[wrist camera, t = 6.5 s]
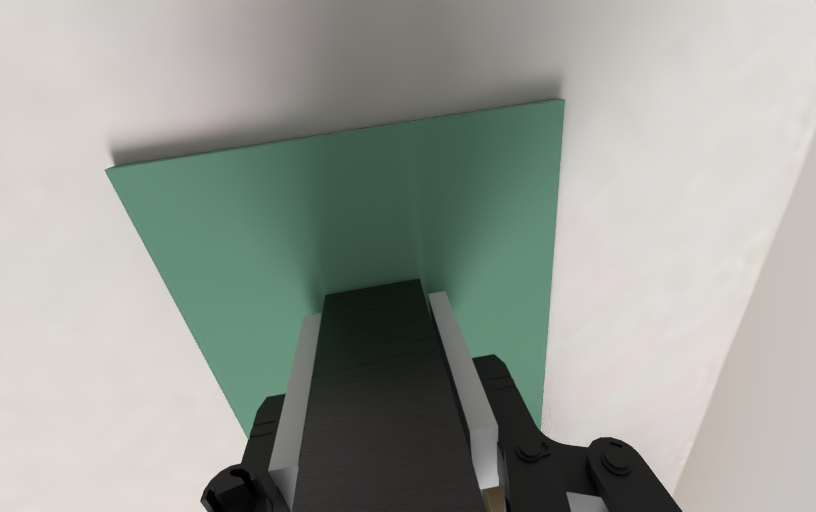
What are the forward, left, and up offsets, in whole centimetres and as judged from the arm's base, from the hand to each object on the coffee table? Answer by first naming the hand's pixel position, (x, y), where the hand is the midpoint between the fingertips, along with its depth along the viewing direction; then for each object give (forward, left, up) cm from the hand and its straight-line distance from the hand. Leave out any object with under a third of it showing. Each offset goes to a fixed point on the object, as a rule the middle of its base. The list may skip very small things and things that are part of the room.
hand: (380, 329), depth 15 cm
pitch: (+8, 0, -1) cm, 8 cm away
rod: (+6, 0, 0) cm, 6 cm away
